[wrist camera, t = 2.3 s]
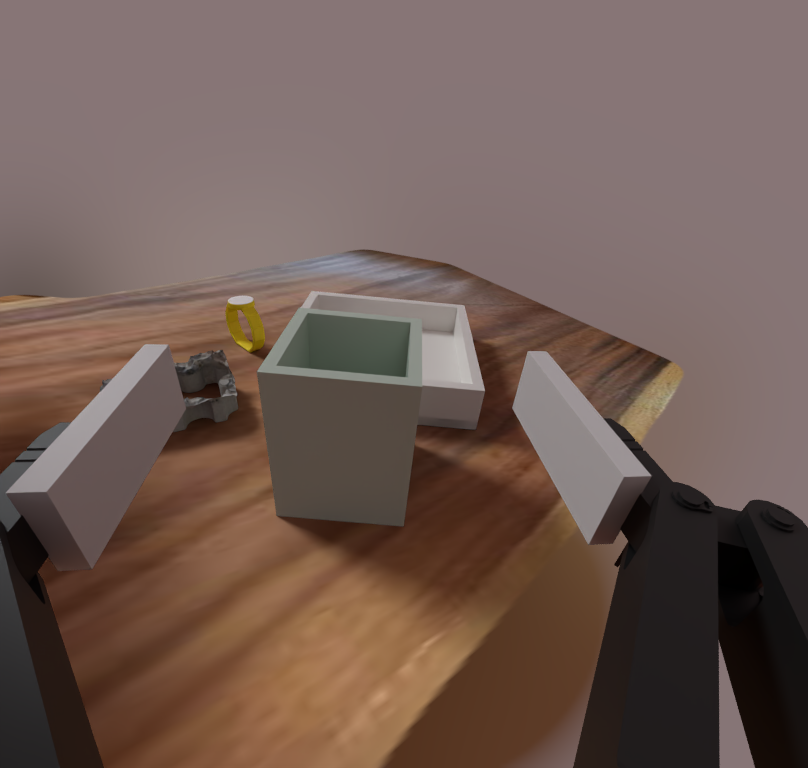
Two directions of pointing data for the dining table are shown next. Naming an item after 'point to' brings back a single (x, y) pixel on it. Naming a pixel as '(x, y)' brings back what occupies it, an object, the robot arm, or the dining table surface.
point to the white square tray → (429, 354)
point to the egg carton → (195, 378)
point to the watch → (253, 319)
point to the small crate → (342, 415)
